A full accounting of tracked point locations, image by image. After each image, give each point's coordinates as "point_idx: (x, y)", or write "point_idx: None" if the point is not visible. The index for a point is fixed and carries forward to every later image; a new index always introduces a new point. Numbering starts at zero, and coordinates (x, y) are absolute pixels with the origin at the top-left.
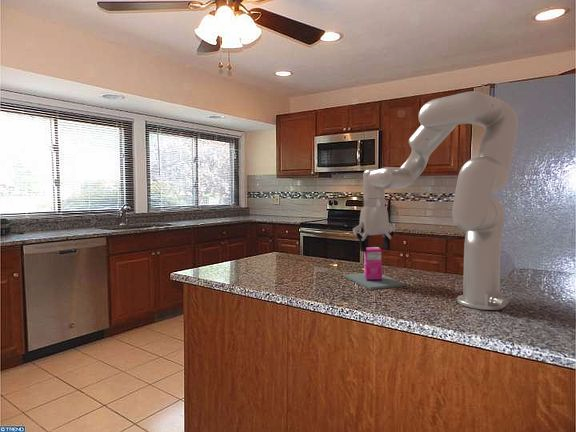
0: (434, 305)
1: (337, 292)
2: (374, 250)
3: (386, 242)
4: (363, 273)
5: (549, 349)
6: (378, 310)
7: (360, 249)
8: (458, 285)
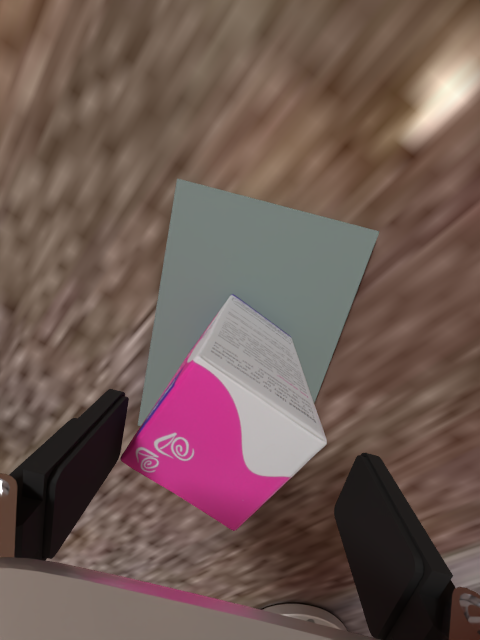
0: (188, 591)
1: (10, 382)
2: (183, 495)
3: (367, 571)
4: (291, 223)
5: None
6: None
7: (105, 396)
8: (446, 540)
